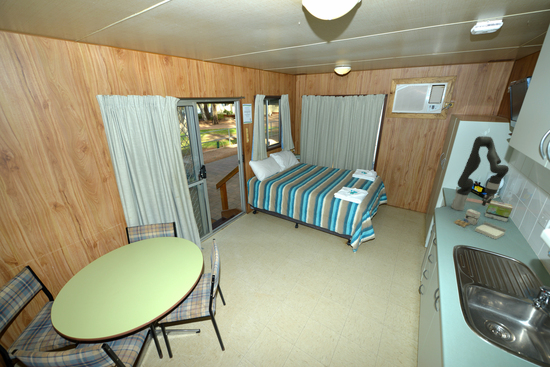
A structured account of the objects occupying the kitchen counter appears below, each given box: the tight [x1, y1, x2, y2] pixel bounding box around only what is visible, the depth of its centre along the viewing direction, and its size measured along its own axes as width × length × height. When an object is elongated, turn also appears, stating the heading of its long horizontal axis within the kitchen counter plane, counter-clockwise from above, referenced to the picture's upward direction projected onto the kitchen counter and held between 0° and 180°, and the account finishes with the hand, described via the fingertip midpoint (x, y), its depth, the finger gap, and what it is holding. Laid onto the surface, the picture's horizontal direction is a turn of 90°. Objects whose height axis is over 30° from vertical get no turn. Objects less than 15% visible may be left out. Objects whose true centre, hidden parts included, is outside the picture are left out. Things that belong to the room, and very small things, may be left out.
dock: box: [474, 221, 507, 240], centre depth 183 cm, size 14×14×5 cm
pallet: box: [453, 218, 470, 228], centre depth 197 cm, size 8×8×2 cm
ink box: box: [462, 208, 481, 226], centre depth 197 cm, size 8×5×12 cm, turn 25°
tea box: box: [484, 199, 513, 223], centre depth 204 cm, size 15×10×15 cm, turn 47°
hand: (485, 204), depth 190 cm, fingers open, 8 cm apart
